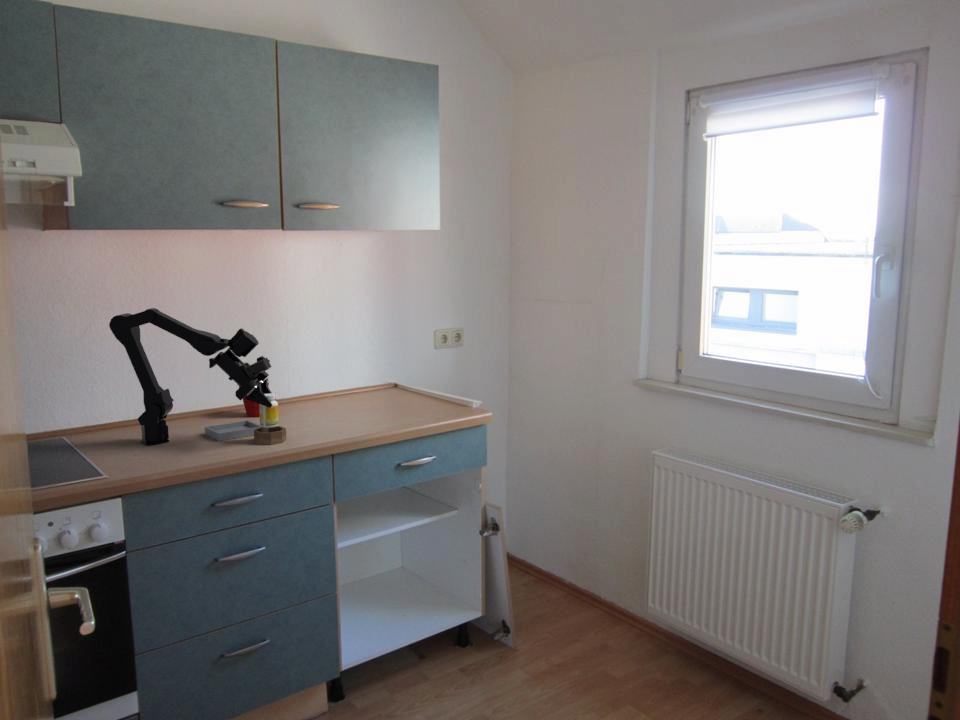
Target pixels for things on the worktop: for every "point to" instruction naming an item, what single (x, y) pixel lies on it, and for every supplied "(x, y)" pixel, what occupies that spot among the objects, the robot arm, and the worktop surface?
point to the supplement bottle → (269, 413)
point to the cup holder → (270, 435)
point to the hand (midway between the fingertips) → (273, 404)
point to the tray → (231, 430)
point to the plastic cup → (252, 407)
